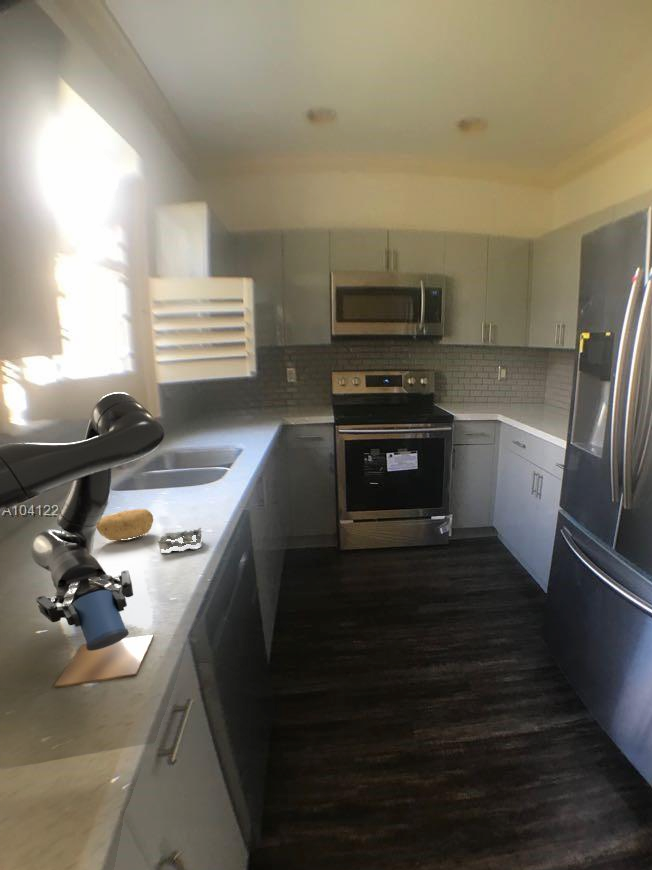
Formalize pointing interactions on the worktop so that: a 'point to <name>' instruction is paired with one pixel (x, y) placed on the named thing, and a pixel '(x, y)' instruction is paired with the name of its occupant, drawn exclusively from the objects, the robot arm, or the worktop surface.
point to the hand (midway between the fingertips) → (99, 613)
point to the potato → (125, 524)
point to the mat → (106, 662)
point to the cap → (100, 620)
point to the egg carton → (186, 539)
